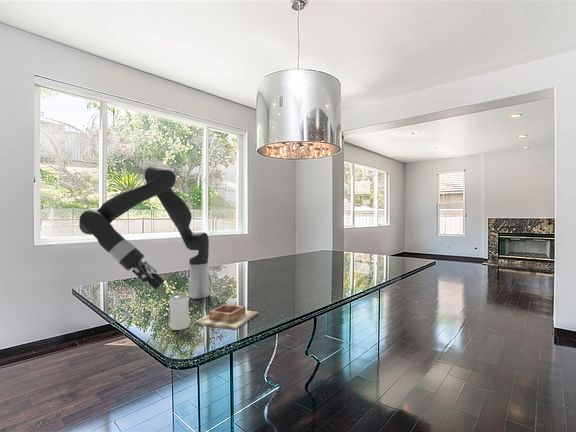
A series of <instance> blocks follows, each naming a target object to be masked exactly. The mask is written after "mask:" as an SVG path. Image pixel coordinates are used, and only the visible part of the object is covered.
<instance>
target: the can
mask: <svg viewBox="0 0 576 432" xmlns="http://www.w3.org/2000/svg"><path fill="white" fill-rule="evenodd" d="M187 295H188V294H185V293H178V294H177V293H176V294H173V295H171V296H170V299H169V319H170V321H169V322H170V329H171V330H172V331H173V330H180V331H183V329H184V330H186V329H188V327H189V326H190V325H189V324H190V322H189V321H190V320H189V297H188V296H187Z"/></svg>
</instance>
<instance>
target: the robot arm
mask: <svg viewBox="0 0 576 432" xmlns="http://www.w3.org/2000/svg"><path fill="white" fill-rule="evenodd" d="M144 180H145V184H143V185H140V186H138V187H134V188H132V189H128V190H124V191H123V192H120V193H117V194H116V195H115V196H113V197H111V198H109V199H108V200H106V201H105V202H103V203H102V204H101V206H100V207H99V208H98V209H97V210H94V209H90V210H89V209H88V210H85V211H84V212H82V214H80V216H79V225H78V226H79V229H80V231H81V232H82V233H84V234H85V235H90V236H91V235H92V236H93V237H94V238H96V240H97V243H99V246H101V248H103V249H104V250H105V251H106V252H107V253H108V254H109V255H110V257H112V258H113V260H115V261H116V262H117V263H118V264H119V265H120V266H122V267H123V268H124V269H125V270H126V271H131V272H132V273H133V274H134V275H135V276H137V278H139V279H140V280H141V281H142V282H143V283H148V284H149V285H150V286H151V287H152V288H153V289H154V290H157V289H158V288H159V287H160V286H161V284H163V283H164V281H165V280H164V279H163V278H162V277H161V276H160V275H159V274H158V273H157V270H156V269H155V268H154V267H152V266H151V265H150V264H149V263H148V261H142V260H143V259H144V258H145V255H144V254H143V253H142V252H141V251H140V250H139V249H138V248H137V247H136V246H135V245H134V244H132V243H131V242H130V241H128V240H127V239H126V238H125V237H123V236H122V235H121V233H119V232H118V231H117V230H116V229H115V228H114V226H113V225H112V224H111V223H112V222H113V221H114V220H116V219H117V218H119V217H121V216H122V215H124V214H125V213H127V212H129V210H131V209H132V208H134V207H137V206H138V205H140V204H142V203H143V202H145V201H147V200H150V199H152V198H153V197H157V198H158V200H159V202H160V203H161V205H162V207H163V208H164V210H165V211H166V212H167V215H168V216H169V218H170V220H171V222H173V224H174V225H175V228H176V229H177V231H178V233H179V235H180V237H181V239H182V241H183V243H184V245H185V247H186V249H188V250H190V251H197V254H196V255H195V256H192V257H190V258H189V260H188V261H189V262H188V263H189V264H188V265H189V278H188V279H187V289H188V294H187V295H188V298H190V299H194V300H195V299H197V300H198V299H204V298H208V297H209V294H210V293H209V292H210V291H209V263H208V261H209V248H210V244H209V243H210V240H209V235H208V233H206V232H201V231H200V232H199V231H198V232H195V231H192V230H191V228H190V225H191V221H192V213H191V210H190V209H189V207H188V205H187V203H186V202H185V201H184V200H183V199H182V198H181V197H180V196H179V195H178V194H177V193H176V192H175V191H174V190H173V189H172V188H173V187H174V185H175V184H176V174H175V173H174V172H173V171H172V170H170V169H168V168H165V167H161V166H159V165H151V166H149V167H148V168H146V169H145V172H144Z"/></svg>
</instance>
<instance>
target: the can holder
mask: <svg viewBox="0 0 576 432" xmlns="http://www.w3.org/2000/svg"><path fill="white" fill-rule="evenodd" d="M258 314H259V311H255V310H254V311H253V310H246V306H244V305H234V304H225V303H223V304H221V305H220V306H217V307H215V308H213V309H211V310H209V311H208V314H207V315H205V316H202V317H201V318H199V319H197V320H195V321H194V325H199V326H204V327H205V326H206V327H212V328H213V327H214V328H221V329H228V330H229V329H230V330H237V329H238V328H240V327H241V326H242V325H244V324H245V323H247V322H249V321H250V320H251V319H253V318H255V317H256V316H257V315H258Z"/></svg>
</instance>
